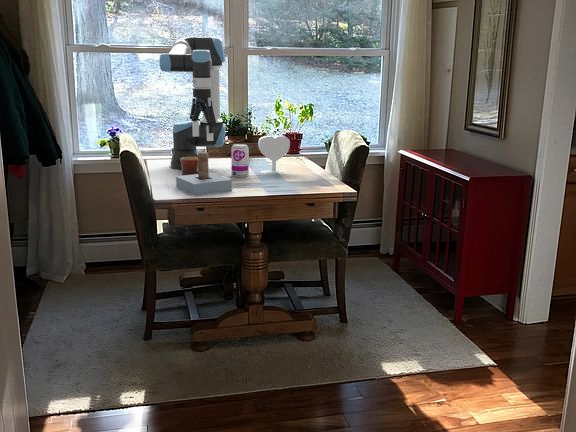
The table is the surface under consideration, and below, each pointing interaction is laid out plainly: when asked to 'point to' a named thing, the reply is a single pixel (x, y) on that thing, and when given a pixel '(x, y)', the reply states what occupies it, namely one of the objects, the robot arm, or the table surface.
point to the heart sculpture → (274, 149)
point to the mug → (189, 165)
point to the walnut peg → (203, 166)
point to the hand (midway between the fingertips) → (202, 138)
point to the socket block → (203, 184)
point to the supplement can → (240, 160)
